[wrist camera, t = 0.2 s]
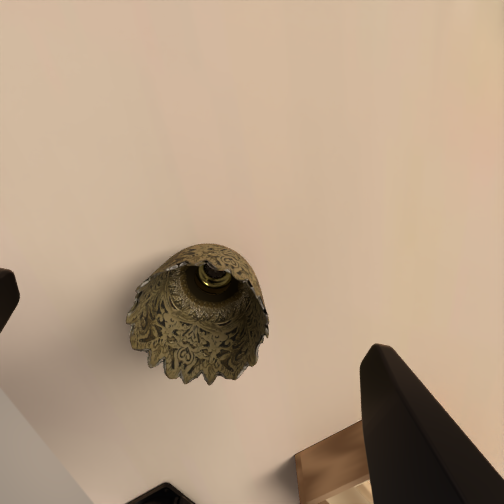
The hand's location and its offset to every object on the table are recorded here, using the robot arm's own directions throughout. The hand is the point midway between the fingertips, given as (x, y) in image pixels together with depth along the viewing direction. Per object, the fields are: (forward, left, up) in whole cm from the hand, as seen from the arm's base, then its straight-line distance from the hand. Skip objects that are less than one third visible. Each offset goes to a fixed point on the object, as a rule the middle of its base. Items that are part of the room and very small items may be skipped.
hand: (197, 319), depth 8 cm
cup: (-5, -3, -16) cm, 17 cm away
